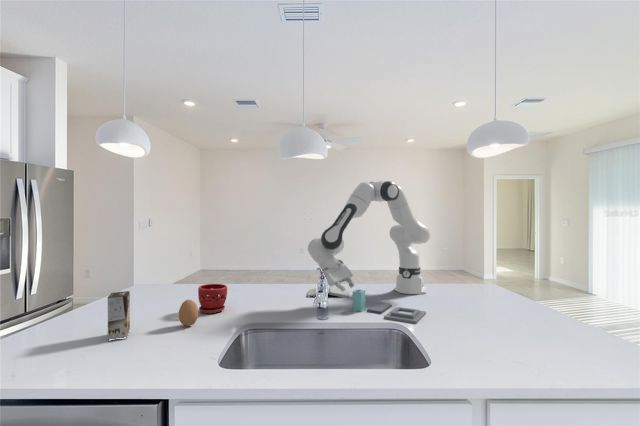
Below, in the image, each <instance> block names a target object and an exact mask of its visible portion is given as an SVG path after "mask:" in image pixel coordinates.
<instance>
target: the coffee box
mask: <svg viewBox="0 0 640 426" xmlns="http://www.w3.org/2000/svg"><path fill="white" fill-rule="evenodd" d="M130 301H131V299H130V291H129V290H128V291H127V290H126V291H118V292H111V293H110V294H109V295H108V296H107V340H108V339H116V338H124V337H127V336H128V337H129V335H128V333H129V334H130V332H129V330H131V323H130V322H131V316H130V315H131V313H130V311H131V307H130V306H131V305H130V304H131V303H130ZM128 337H127V338H128Z"/></svg>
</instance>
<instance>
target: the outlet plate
mask: <svg viewBox="0 0 640 426" xmlns="http://www.w3.org/2000/svg"><path fill="white" fill-rule="evenodd" d="M426 314H427V311H423V310H420V309H415V308H407V307H400V306H398V307H394V308H393V309H392V310H391V311H389V312H388V313H386V314H385V315H384V316H383V320H390V321H395V322H396V321H397V322H403V323H409V324H415V325H417V324H418V323H419V322H420V321H421V320H422V319H423V318H424V317H425V316H426Z"/></svg>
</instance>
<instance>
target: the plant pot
mask: <svg viewBox="0 0 640 426" xmlns="http://www.w3.org/2000/svg"><path fill="white" fill-rule="evenodd" d="M197 293H198V296H197V297H198V302H199V305H200V306H199V307H198V311H199V312H201V313H202V312H203V314H207V313H213V314H217V313H216V312H218V313H221V312H223V311H224V310H225V307H226V306H225V303H226V300H227V296H228V286H227V285H226V284H222V283H207V284H202V285H199V286H198V291H197ZM222 310H223V311H222ZM220 311H221V312H220Z"/></svg>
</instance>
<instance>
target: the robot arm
mask: <svg viewBox="0 0 640 426" xmlns="http://www.w3.org/2000/svg"><path fill="white" fill-rule="evenodd" d="M372 201H374V202H380V203H382V202H386V203H387V206H388V209H389V212H390V215H391V216H392V219H393V221H395V222H396V223H397V224H394V225H392V226H391V227H390V229H389V237H390V239H391V240H392V241H393V242H394V244H395V245H396V249H397V250H398V258H399V267H398V274H397V276H396V280H395V287H393V291H395V292H397V293H401V294H406V295H420V294H427V291H428V286H425V284H424V278H423V277H422V275H421V270H422V269H421V266H420V254H419V252H418V251H417V250H416V249H415V248H414V247H413V245H414V244H415V245H422V244H426V243H428V242H429V240H430V237H431V232H430V229H429V228H428V227H427V226H426V225H424V224H423V223H421V222H420V221H419V220H418V219H417V217H416V216H415V215H414V213H413V211H412V208H411V206H410V203H409V200H408V197H407V195H406V194H405V192H404V190H403V188H402V187H401V186H399V185H397V183H395V182H393V181H389V180H378V181H370V182H365V181H363V182H360V183H359V184H358V185H357V186H356V188H355V189H354V190H353V191H352V193H351V195H350V196H349V197H348V200H347V201H346V203H345V204H344V207H343V209H341V211H340V213H339V215H338V216H337V218H336V219H335V220H334V222H333V223H332V224H331V226H329V227H328V228H326V229H325V230H324V231H323V232H322V234H321V237H317V238H314V239H312V240H311V241H310V242H309V244H308V246H307V251H308V254H309V256H310V257H311V258H312V259H313V260H314V262H316V263H317V265H318V266H319V268H320V269H321V272H322V271H323V273H324V275H325V277H326V279H327V282H328V283H327V282H326V283H327V285H328V286H329V287H330V286H331V287H336V288H339V289H340V290H341V291H344V290H346V287H345V286H344V285H342V283H343V282H346V283H348V286H349V288H353V287H354V286H355V284H354V283H353V281H352V277H353V273H352V271H351V270H350V269H349V268H348V266H347V265H346V264H345V262H344V260H342V259H338V258H336V257H335V256H336V255H338V254H340V253H341V252H342V251H343V250H344V247H345V242H344V239H343V235H344V232H345V230H346V228H347V227H348V225H349V224H350V223H351V221H352V220H354V219H355V218H356V219H357V218H362V217H363V215H364V214H365V213H366V211H367V210H368V208H369V207H370V204H371V202H372Z"/></svg>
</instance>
